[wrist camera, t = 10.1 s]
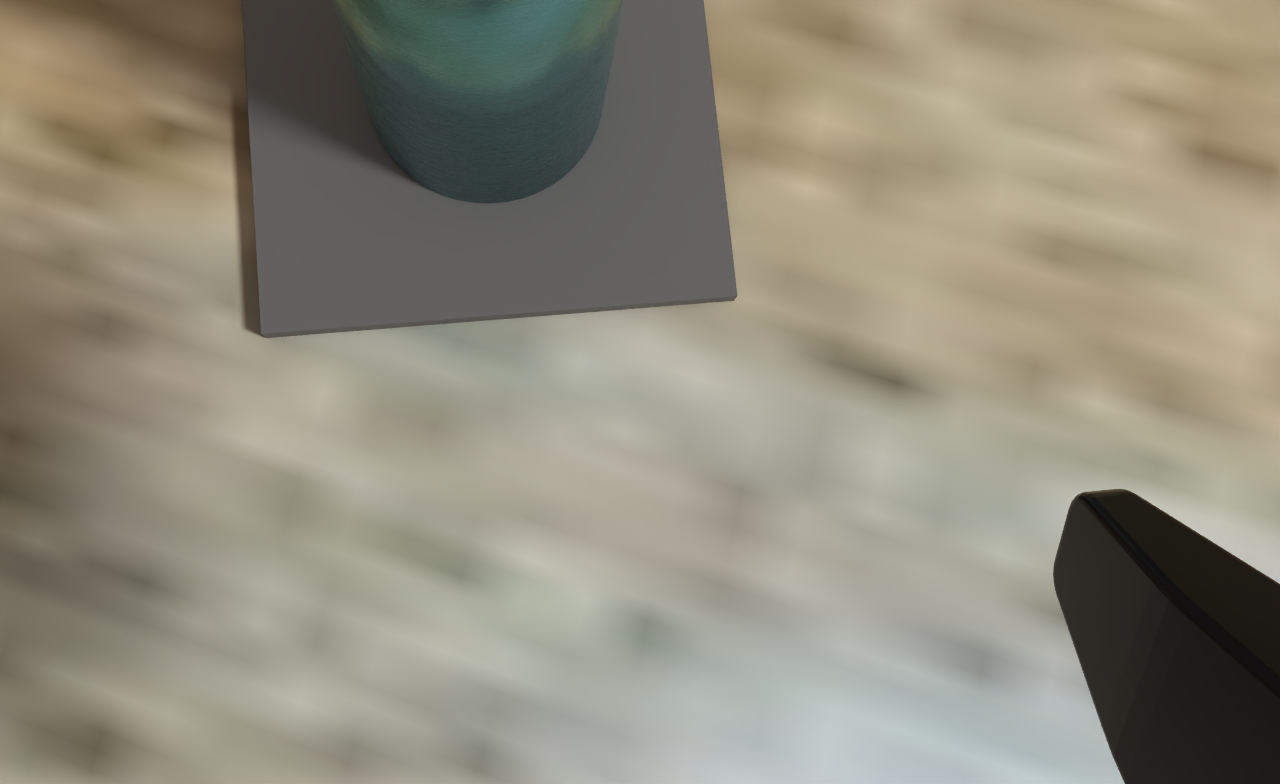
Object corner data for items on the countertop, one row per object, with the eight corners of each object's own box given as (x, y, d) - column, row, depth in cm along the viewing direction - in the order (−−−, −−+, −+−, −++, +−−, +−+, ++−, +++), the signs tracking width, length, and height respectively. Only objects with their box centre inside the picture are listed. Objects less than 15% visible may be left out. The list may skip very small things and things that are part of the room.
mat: (734, 300, 24) (737, 296, 24) (265, 337, 23) (261, 333, 23) (685, -124, 25) (688, -135, 25) (239, -105, 24) (235, -116, 24)
